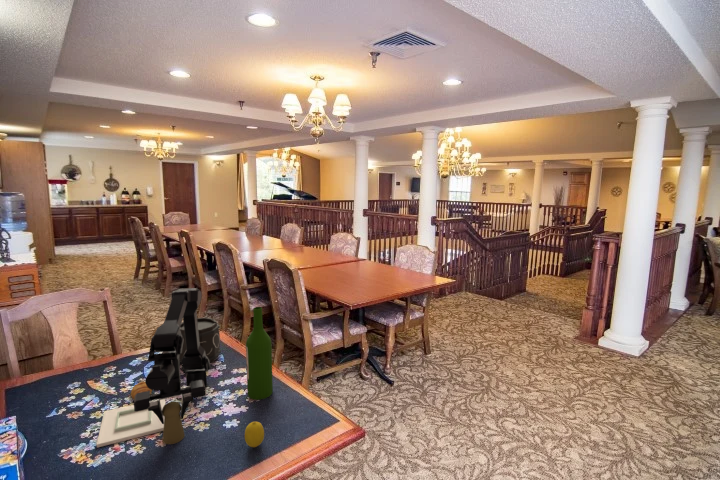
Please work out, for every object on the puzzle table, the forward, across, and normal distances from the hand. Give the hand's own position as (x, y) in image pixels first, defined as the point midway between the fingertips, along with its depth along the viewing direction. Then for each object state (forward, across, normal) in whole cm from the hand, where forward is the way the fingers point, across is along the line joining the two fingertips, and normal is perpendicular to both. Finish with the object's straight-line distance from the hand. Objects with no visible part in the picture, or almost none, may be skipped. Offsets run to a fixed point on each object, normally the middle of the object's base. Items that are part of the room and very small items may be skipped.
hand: (172, 420), depth 116 cm
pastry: (+6, +9, -30) cm, 32 cm away
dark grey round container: (+6, -12, -53) cm, 55 cm away
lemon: (+6, -21, +15) cm, 26 cm away
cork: (+6, 0, 0) cm, 6 cm away
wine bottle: (+6, -29, -13) cm, 32 cm away
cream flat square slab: (+6, +11, -14) cm, 19 cm away
